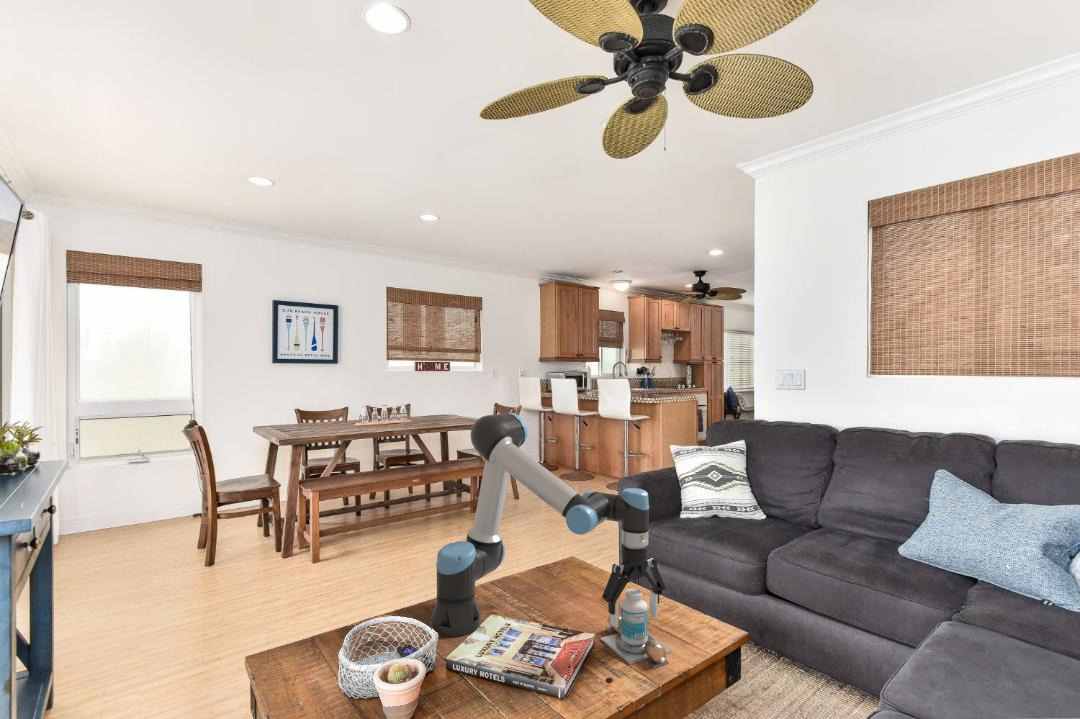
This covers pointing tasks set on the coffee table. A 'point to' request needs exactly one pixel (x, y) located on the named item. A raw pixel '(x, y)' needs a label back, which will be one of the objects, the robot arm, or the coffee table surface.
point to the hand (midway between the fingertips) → (634, 620)
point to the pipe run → (636, 647)
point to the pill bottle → (634, 618)
